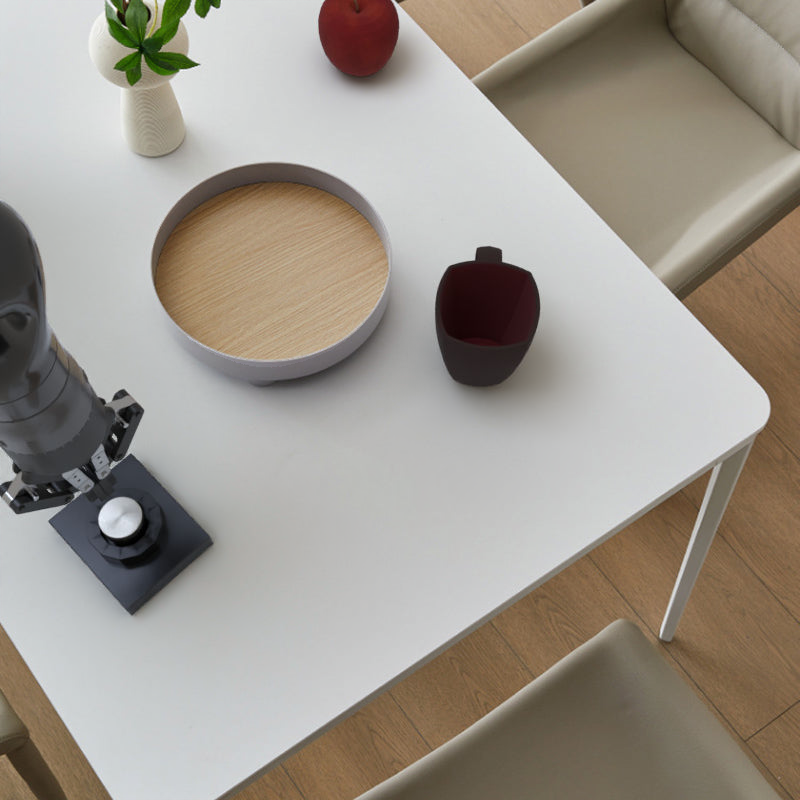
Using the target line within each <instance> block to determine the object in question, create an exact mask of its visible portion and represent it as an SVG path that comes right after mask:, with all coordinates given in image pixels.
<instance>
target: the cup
mask: <svg viewBox="0 0 800 800" xmlns="http://www.w3.org/2000/svg"><path fill="white" fill-rule="evenodd" d="M538 288H539V287H538V284H537V282H536V279H535V277H534V275H533V273H532V271H530V270H527V269H525V268H523V267H520V266H519V265H516V264H512V263H508V262H504V261H503V250H502V249H501V248H499V247H496V246H493V245H492V246H491V245H484V246H478V247H476V250H475V256H474V260H464V261H460V262H457V263H453V264H451V265H448V266H447V268H446V269H445V271H444V272H443V274H442V276H441V278H440V280H439V283H438V286H437V289H436V294H435V302H434V322H435V334H436V338H437V343H438V348H439V350H440V354H441V357H442V361H443V363H444V366H445V368H446V370H447V372H448V374H449V375H450V377H451V379H453V380H454V381H455V382H457V383H459V384H461V385H466V386H469V387H477V388H486V387H492V386H496V385H501V383H503V382H505V381H506V380H507V379H509V377H511V375H512V374H514V372H515V371H516V370H517V368H519V366H520V364H521V363H522V361H524V358H525V357H526V355H527V353H528V351H529V349H530V347H531V345H532V343H533V341H534V338H535V335H536V333H537V329H538V326H539V322H540V316H541V297H540V291H539V289H538Z"/></svg>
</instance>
